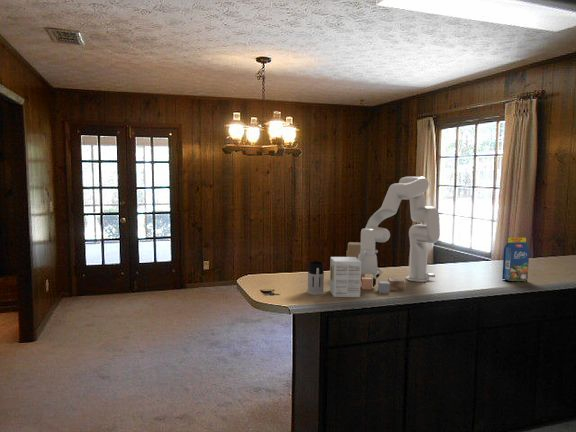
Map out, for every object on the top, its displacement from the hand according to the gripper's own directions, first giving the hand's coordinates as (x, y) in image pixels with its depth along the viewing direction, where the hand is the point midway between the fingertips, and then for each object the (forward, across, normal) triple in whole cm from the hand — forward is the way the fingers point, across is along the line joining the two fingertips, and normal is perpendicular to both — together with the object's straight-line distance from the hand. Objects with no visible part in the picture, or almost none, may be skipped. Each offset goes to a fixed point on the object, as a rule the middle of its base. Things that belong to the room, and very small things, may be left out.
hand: (366, 285), depth 235 cm
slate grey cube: (+1, -8, +7) cm, 11 cm away
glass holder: (+1, +26, +16) cm, 31 cm away
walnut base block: (+1, -15, -1) cm, 15 cm away
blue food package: (+1, -87, -31) cm, 92 cm away
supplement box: (+1, +12, +14) cm, 18 cm away
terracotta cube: (+1, 0, 0) cm, 1 cm away
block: (+1, +4, -25) cm, 25 cm away
